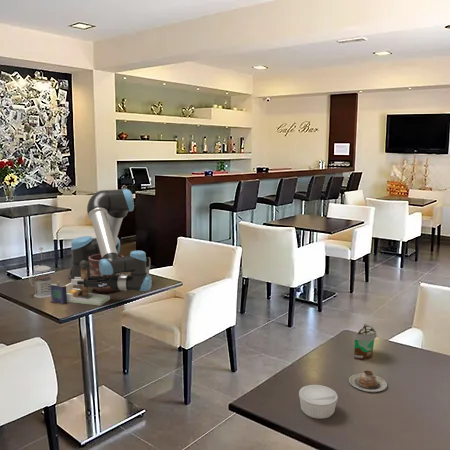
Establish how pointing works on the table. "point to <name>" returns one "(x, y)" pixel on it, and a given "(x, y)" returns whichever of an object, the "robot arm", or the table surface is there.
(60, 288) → the flask
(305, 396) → the ramekin
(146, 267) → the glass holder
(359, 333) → the food container
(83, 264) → the kicker
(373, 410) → the table surface
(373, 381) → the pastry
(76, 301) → the pale green tray
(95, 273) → the pottery
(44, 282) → the french press
